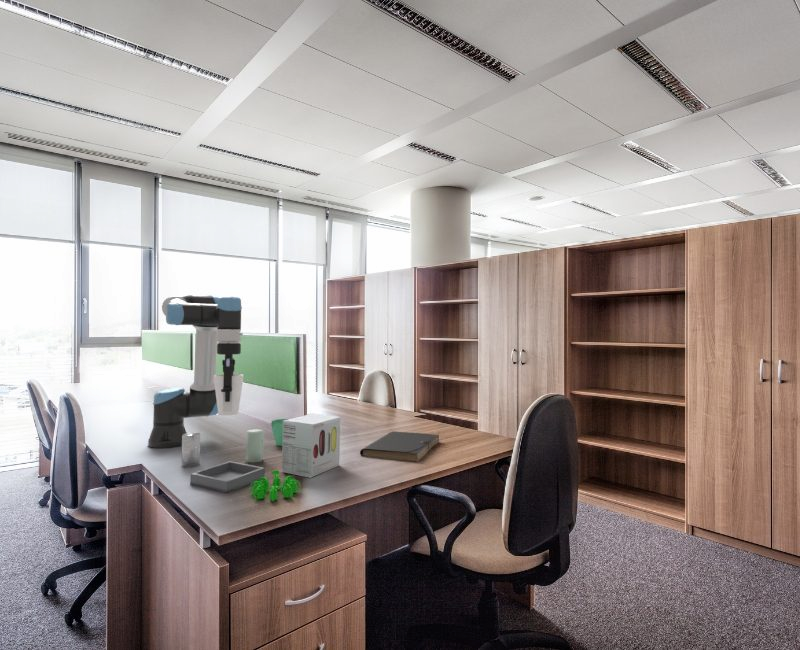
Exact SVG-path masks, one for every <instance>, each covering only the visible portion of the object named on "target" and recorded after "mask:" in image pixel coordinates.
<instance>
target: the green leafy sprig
mask: <svg viewBox="0 0 800 650" xmlns="http://www.w3.org/2000/svg"><path fill="white" fill-rule="evenodd" d="M271 474H272V475H274V477H273V479H272V485H270V483H269V480H268V478H267V477H266V476H265V477H261V478H260V479H259V481H255V482H253V483H252V484H249V485H250V486H249V488H248V489H249V490H248V491H249V493H250V495H252V496H253V498H254V499H255V500H256V501H259V500H261V499H265V497H266V495H267V492H269V500H270V501H271V502H272V503H274V502H275V501H276V500H277V499H278V490H280V491H281V493H282V494H281V495H282V496H283V498H287V499H288V500H290V499H291V498H292V497H293V494H294V493H295V494H298V493H299V492H300V491H301V488H302V487H301V482H300V481H299V480H297V479H295V478H294V476H292V475H288V476H286V477H284V478H285V479H284V480H283V483H282V484H281V479H280V477H279V474H280V471H279V470H272V471H271ZM261 479H262V480H261ZM297 483H298V484H299V489H298V484H297ZM252 485H253V486H252ZM251 486H252V491H251Z"/></svg>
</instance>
